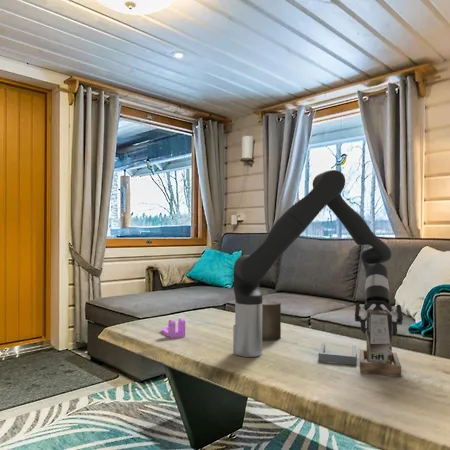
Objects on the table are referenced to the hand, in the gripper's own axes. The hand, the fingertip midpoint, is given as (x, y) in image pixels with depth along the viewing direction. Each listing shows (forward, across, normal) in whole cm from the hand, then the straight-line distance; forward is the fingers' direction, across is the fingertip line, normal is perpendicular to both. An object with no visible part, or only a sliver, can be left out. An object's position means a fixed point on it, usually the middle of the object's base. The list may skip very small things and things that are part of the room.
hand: (378, 333), depth 125 cm
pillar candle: (-8, -40, +23) cm, 47 cm away
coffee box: (+7, 0, +6) cm, 10 cm away
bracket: (-3, -77, +18) cm, 79 cm away
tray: (+8, 0, +7) cm, 10 cm away
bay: (+3, -12, +12) cm, 17 cm away
